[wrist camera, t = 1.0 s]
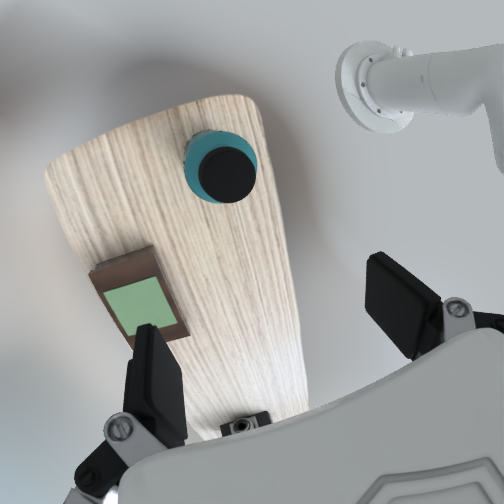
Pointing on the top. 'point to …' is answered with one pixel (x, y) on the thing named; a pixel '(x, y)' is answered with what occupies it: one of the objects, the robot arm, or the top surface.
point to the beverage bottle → (220, 166)
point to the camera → (246, 424)
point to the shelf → (139, 295)
